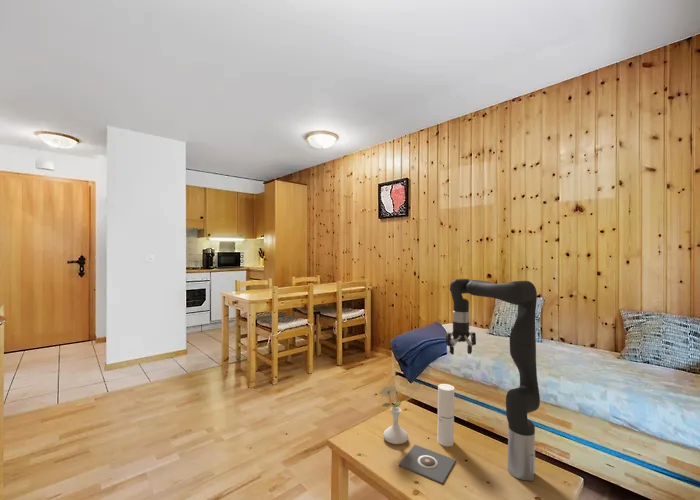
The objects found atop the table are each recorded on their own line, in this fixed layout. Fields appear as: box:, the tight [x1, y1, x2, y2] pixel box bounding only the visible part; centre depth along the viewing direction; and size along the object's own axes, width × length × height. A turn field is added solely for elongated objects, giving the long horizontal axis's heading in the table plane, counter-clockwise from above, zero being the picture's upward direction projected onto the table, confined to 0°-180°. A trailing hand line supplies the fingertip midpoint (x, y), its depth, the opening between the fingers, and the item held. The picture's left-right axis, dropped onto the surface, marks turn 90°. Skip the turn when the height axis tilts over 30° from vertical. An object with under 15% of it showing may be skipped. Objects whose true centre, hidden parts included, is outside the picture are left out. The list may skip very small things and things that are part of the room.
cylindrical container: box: [436, 383, 455, 447], centre depth 151 cm, size 7×7×25 cm
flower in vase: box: [379, 384, 409, 445], centre depth 152 cm, size 13×11×25 cm
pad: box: [398, 444, 457, 485], centre depth 136 cm, size 18×16×1 cm
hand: (460, 353), depth 160 cm, fingers open, 8 cm apart
